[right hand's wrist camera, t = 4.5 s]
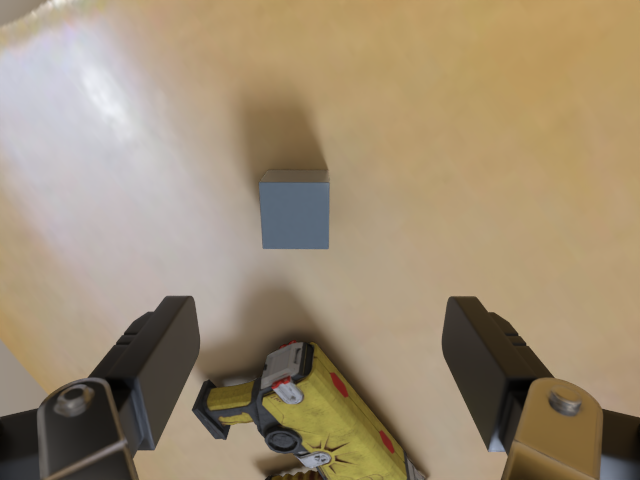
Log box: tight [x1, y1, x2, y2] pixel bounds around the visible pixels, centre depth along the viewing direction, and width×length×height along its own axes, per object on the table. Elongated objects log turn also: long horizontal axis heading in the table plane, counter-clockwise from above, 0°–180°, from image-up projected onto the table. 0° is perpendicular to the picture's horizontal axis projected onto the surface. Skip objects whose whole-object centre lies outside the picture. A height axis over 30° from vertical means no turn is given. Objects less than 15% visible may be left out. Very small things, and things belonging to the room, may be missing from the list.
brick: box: [259, 170, 330, 249], centre depth 26 cm, size 5×4×4 cm
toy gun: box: [192, 340, 424, 480], centre depth 35 cm, size 5×24×15 cm
